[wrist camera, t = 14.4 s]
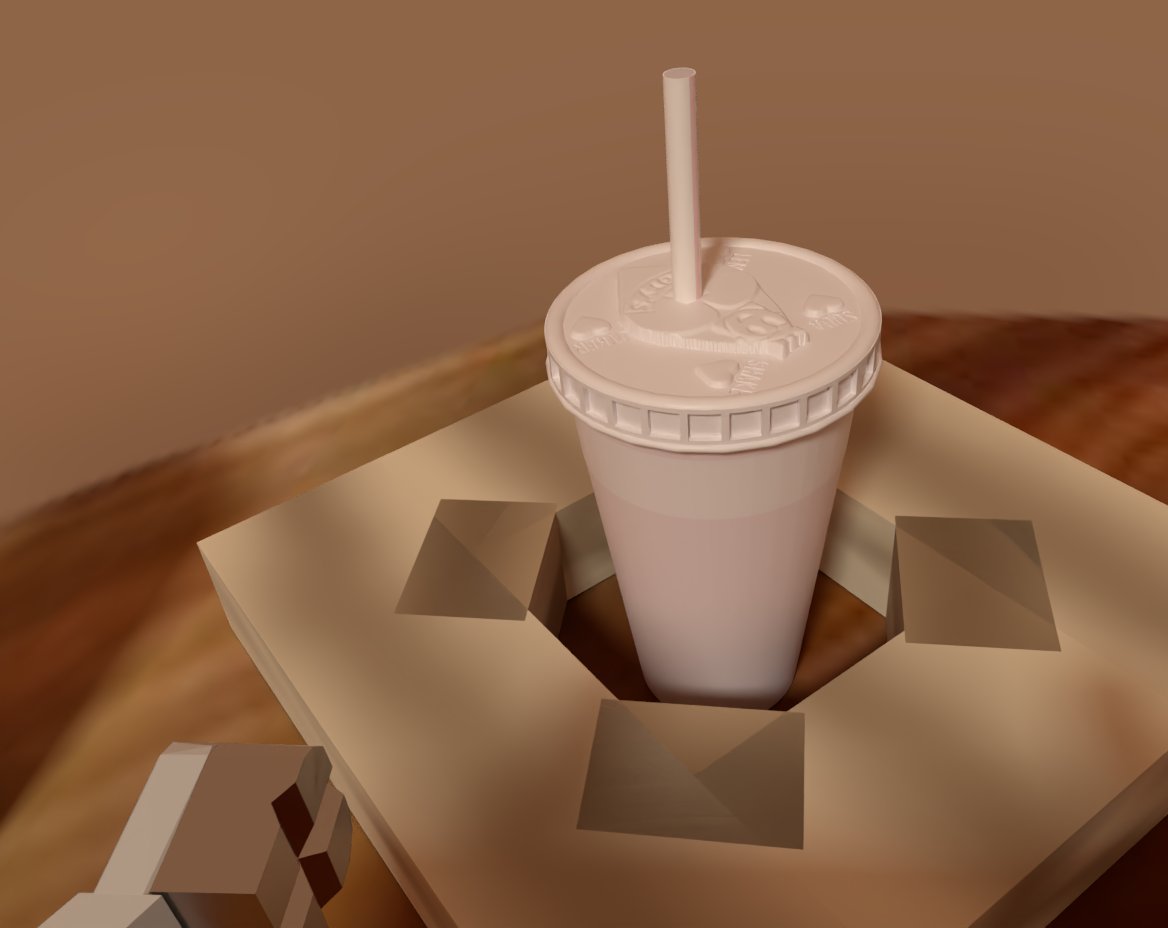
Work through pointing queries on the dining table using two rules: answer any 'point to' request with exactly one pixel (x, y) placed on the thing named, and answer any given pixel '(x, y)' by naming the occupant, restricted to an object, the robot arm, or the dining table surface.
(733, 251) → the smoothie
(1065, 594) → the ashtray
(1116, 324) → the dining table surface
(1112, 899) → the dining table surface
